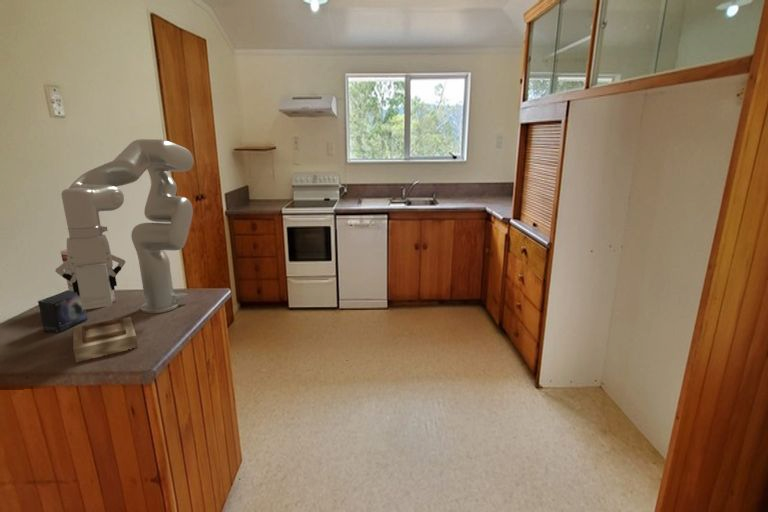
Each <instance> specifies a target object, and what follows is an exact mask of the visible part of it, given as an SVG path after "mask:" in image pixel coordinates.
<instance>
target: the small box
mask: <svg viewBox="0 0 768 512" xmlns="http://www.w3.org/2000/svg"><path fill="white" fill-rule="evenodd" d="M37 303H38V308H39V313H40V316H41V318H40V319H41V322H42V327H43V331H44V332H48V333H55V334H59V333H62V332H64V331H67V330H68V329H71V328H74V327H76V326H78V325H80V324H82V323H85V322H87V321H88V317H87V311H86V310H87V309H85V310H83V309H82V303H81V298H80V295H79V296H78V295H77V292H75V293H74V291H69V289H68V290H65V291H63V292H59V293H57V294H54V295H51V296H48V297H46V298H43V299H39V300H38V301H37ZM86 320H87V321H86Z"/></svg>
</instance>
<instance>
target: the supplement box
mask: <svg viewBox="0 0 768 512" xmlns="http://www.w3.org/2000/svg"><path fill="white" fill-rule="evenodd" d="M75 272H76V277H77V282H78V287H79V293H80V298H81V303H82V309H83V310H91V309H98V308H105V307H112V306H113V303H112V300H113V293H112V288H111V283H110V277H109V276H110V275H109V273H108V269H107V265H106V263H101V264H93V265H86V266H78V267H75Z"/></svg>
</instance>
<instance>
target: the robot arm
mask: <svg viewBox="0 0 768 512" xmlns="http://www.w3.org/2000/svg"><path fill="white" fill-rule="evenodd" d="M193 166H194V156H193V154H192V152H191V151H190V150H189V149H188V148H186V147H184V146H181V145H179V144H177V143H174V142H173V141H169V140H166V139H159V138H158V139H149V138H148V139H145V138H142V139H136V140H133V141H131V142H130V143H129V144H128V145H127V146H126V147H125V148H124V149H123V150H122V151H121V152H120V153H119V154H118V155H117V156H116V157H115V158H114V159H113V160H112V161H109V162H106V163H103V164H101V165H99V166H97V167H95V168H92V169H90V170H88V171H86V172H84V173H83V174H81V175H80V176H79V177H78V178H76V180H74V181H73V182H72V183H71V185H70V186H69V187H68V188H66V189H63V190H62V191H61V199H62V205H63V210H64V216H65V222H66V225H67V231H68V235H69V237H68V238H66V249H67V256H68V260H67V261H65V262H64V263H63V262H62V264H61V265H59V266H58V267H57V268H55V273H57V274H58V275H59V276H61V277H62V278H63V279H65V280H66V279H67V280H69V281H70V282H71V283H72V285H73V290H74V293H75V292H77V295H78V296H79V295H80V293H79V287H78V282H77V277H76V272H75V267H78V266H86V265H93V264H101V263H106V265H107V269H108V273H109V274H110V276H109V277H110V283H111V288H112V290H114V291H115V287H117V286H118V285H117V284H118V283H117V278H116V276H118V274H119V272H121V270H122V269H123V268H124V266H125V264H126V260H125V259H123V258H122V257H118V256H117V255H113V254H112V252H111V248H110V244H109V241H108V239H107V236H106V234H103V233H105V232H108V226H105V225H104V226H102V225H101V219H100V215H99V214H100V212H108V211H109V212H112V211H116V210H118V209H119V208H121V207H122V205H123V204H124V201H125V198H124V197H125V196H124V193H123V191H122V190H121V189H120V188H118V187H120V186H125V185H129V184H133V183H135V182H137V181H138V180H139V179H140V178H141V176H142V175H144V173H145V172H146V171H147V173H148V175H149V178H150V183H151V184H150V189H149V191H148V196H147V198H146V202H145V206H144V209H143V210H144V217H145V218H146V219H147V220H149V221H151V222H143V223H139V224H137V225H135V226H134V227H133V228H132V230H131V234H130V235H131V236H130V237H131V242H132V244H133V247H134V248H135V251H136V255H137V259H138V265H139V270H140V278H141V284H142V291H143V296H144V303H143V304H142V305H141V306H140V309H141V311H142V312H143V313H147V314H160V313H167V312H170V311H172V310H174V309H176V308H178V307H179V306H180V305H181V304H180V300H185V299H189V294H188V293H186V292H185V293H183V292H179V293H175V291H174V287H173V286H174V285H173V278H172V272H171V264H170V263H171V262H170V258H169V256H168V254H167V253H166V251H180V250H181V249H183V248H184V247H185V245H186V243H187V239H188V236H189V232H190V228H191V224H192V220H193V216H194V215H193V214H194V208H193V204H192V202H191V201H190V199H188V198H187V197H185V196H177V190H178V186H177V183H176V181H175V179H174V178H173V177H172V176H171V175H170V173H169V172H174V173H175V172H179V173H180V172H183V173H185V172H188V171H190V170H192V168H193ZM114 262H115V263H117V265H116V266H115V268H113V263H114ZM68 266H69V268H70V271H71V272H72V273H73V274H72V275H70V274H68V273H66V272H65V270H64V269H65V268H67V267H68ZM67 280H66V281H67Z"/></svg>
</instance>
